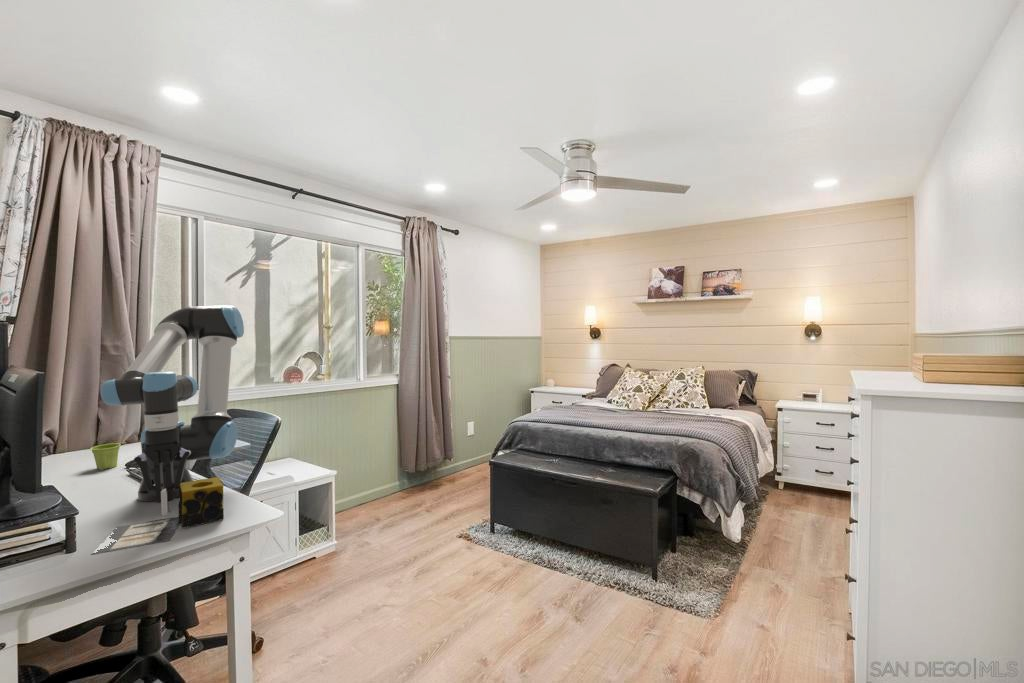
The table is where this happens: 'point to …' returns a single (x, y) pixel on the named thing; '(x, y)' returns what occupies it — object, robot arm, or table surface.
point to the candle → (200, 502)
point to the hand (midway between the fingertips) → (166, 513)
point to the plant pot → (106, 455)
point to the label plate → (142, 534)
